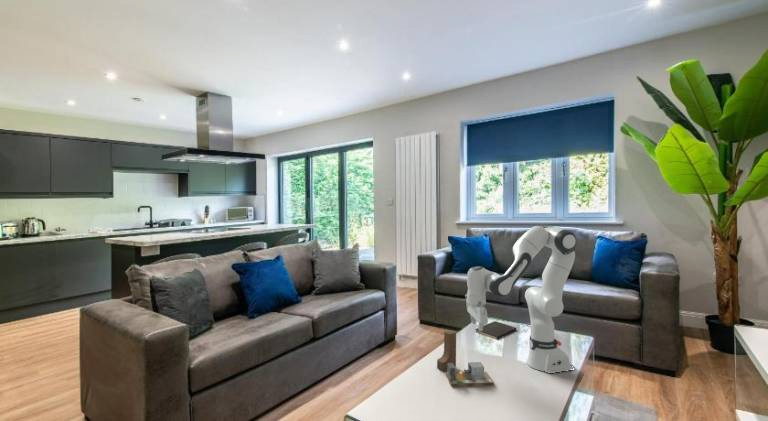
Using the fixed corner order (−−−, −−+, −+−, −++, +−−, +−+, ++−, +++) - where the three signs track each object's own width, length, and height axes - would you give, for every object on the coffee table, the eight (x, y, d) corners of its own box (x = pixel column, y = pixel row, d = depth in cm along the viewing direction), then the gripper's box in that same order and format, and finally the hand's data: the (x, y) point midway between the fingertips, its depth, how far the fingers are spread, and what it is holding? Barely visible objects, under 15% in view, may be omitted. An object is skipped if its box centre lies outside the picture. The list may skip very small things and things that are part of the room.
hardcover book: (474, 332, 227) (474, 329, 227) (494, 324, 242) (494, 321, 242) (497, 340, 215) (497, 336, 215) (516, 331, 230) (516, 327, 230)
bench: (486, 374, 173) (486, 359, 172) (494, 385, 163) (494, 369, 162) (446, 375, 171) (446, 360, 171) (451, 387, 161) (451, 370, 161)
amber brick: (461, 380, 164) (461, 371, 163) (462, 382, 162) (462, 373, 162) (459, 380, 164) (459, 371, 163) (460, 382, 162) (460, 373, 162)
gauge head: (480, 374, 170) (480, 361, 170) (485, 382, 162) (486, 369, 162) (463, 374, 169) (463, 362, 169) (468, 383, 162) (468, 370, 161)
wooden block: (442, 371, 175) (443, 336, 174) (436, 368, 179) (437, 333, 178) (456, 367, 180) (456, 332, 179) (450, 363, 184) (450, 329, 183)
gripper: (490, 305, 166) (491, 334, 166) (475, 293, 186) (476, 319, 187) (477, 306, 165) (478, 335, 166) (464, 294, 186) (464, 320, 186)
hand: (477, 326), depth 176 cm, fingers open, 8 cm apart
